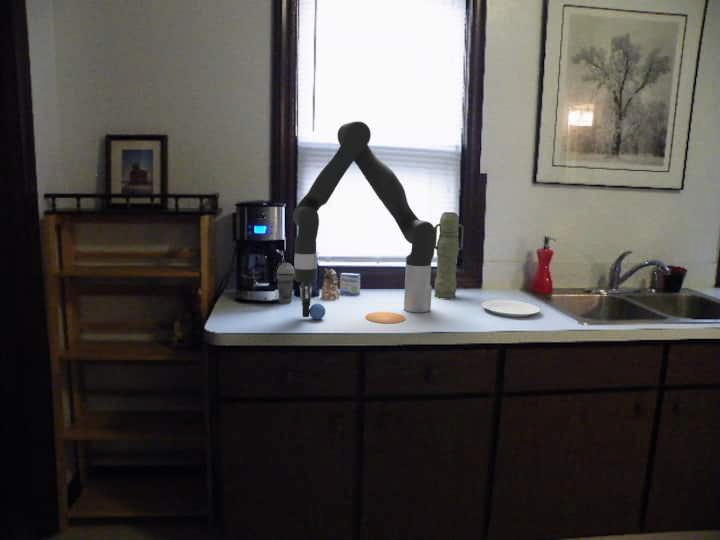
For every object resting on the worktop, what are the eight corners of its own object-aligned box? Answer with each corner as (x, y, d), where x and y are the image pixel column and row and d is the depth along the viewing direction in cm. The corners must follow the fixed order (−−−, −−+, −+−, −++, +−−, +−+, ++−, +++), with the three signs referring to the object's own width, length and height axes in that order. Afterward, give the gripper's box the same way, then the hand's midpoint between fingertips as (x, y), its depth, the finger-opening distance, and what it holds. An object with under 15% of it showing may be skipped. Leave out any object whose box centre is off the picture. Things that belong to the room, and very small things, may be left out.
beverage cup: (291, 305, 190) (291, 252, 186) (272, 304, 191) (272, 251, 187) (297, 301, 197) (297, 250, 193) (279, 299, 198) (279, 249, 194)
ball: (306, 313, 174) (320, 319, 175) (307, 318, 169) (322, 324, 170) (312, 299, 173) (327, 305, 175) (313, 303, 168) (328, 309, 169)
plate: (471, 311, 189) (471, 306, 189) (498, 302, 204) (498, 297, 204) (523, 323, 175) (524, 317, 175) (548, 313, 190) (549, 307, 190)
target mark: (400, 312, 184) (400, 311, 184) (410, 323, 171) (410, 322, 171) (362, 312, 182) (362, 312, 182) (369, 324, 168) (369, 323, 168)
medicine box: (339, 294, 209) (339, 274, 208) (341, 292, 214) (342, 272, 212) (358, 296, 208) (358, 275, 207) (360, 293, 213) (360, 273, 211)
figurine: (333, 301, 198) (333, 271, 196) (317, 298, 201) (318, 269, 199) (342, 297, 204) (343, 268, 202) (327, 295, 207) (328, 266, 205)
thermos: (428, 294, 215) (432, 211, 208) (455, 294, 216) (460, 212, 210) (433, 299, 206) (438, 213, 200) (461, 299, 207) (467, 213, 201)
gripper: (318, 269, 163) (318, 321, 166) (315, 262, 176) (315, 311, 179) (295, 270, 162) (295, 322, 165) (293, 263, 174) (294, 311, 178)
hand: (305, 316), depth 172 cm, fingers closed
